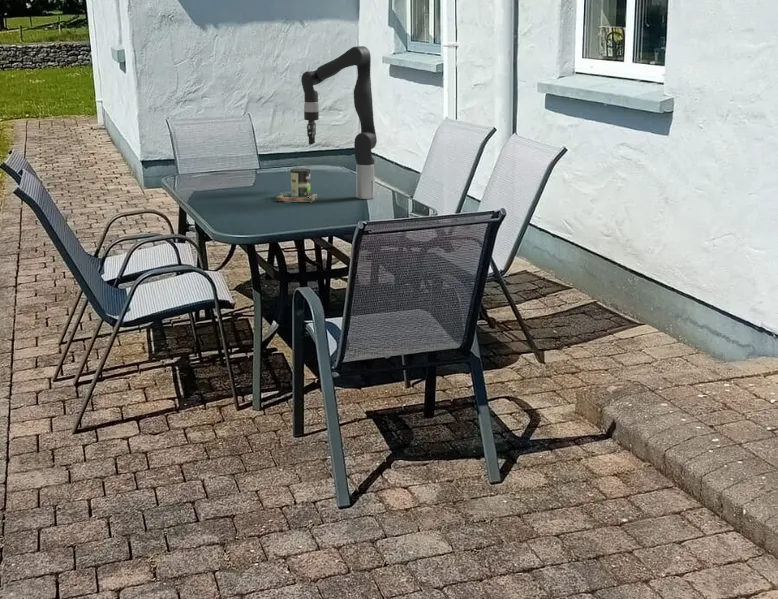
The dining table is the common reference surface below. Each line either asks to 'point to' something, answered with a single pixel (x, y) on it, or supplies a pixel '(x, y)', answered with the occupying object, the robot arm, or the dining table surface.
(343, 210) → the dining table surface
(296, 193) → the coffee can
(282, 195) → the dock bay
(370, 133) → the robot arm
